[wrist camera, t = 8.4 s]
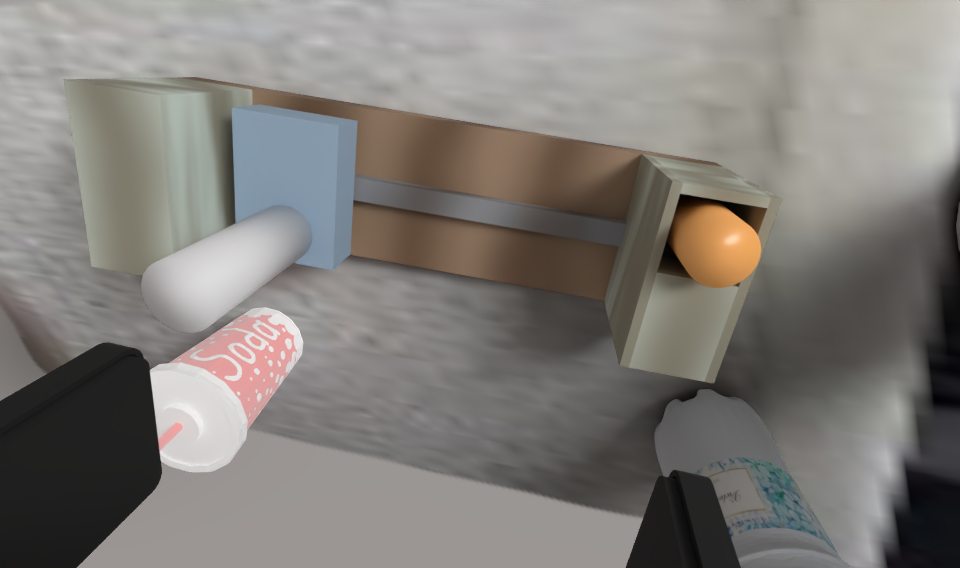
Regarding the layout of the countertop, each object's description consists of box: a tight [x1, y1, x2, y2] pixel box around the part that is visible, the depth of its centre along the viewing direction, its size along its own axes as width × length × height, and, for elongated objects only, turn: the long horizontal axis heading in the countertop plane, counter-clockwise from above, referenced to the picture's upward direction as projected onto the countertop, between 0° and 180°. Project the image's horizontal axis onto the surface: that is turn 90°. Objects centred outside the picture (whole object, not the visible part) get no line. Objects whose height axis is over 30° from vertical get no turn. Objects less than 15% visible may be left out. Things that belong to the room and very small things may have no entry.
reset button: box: [666, 195, 761, 288], centre depth 21 cm, size 3×3×4 cm
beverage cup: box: [150, 307, 303, 473], centre depth 28 cm, size 6×6×14 cm
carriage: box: [141, 104, 358, 333], centre depth 23 cm, size 5×7×10 cm
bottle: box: [654, 389, 852, 568], centre depth 24 cm, size 7×7×20 cm
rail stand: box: [64, 77, 782, 384], centre depth 26 cm, size 28×8×8 cm, turn 82°
